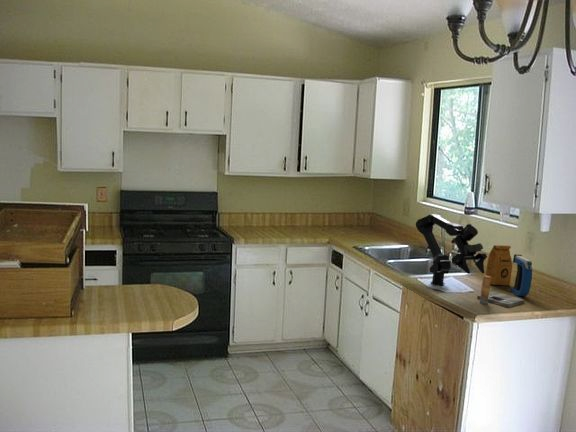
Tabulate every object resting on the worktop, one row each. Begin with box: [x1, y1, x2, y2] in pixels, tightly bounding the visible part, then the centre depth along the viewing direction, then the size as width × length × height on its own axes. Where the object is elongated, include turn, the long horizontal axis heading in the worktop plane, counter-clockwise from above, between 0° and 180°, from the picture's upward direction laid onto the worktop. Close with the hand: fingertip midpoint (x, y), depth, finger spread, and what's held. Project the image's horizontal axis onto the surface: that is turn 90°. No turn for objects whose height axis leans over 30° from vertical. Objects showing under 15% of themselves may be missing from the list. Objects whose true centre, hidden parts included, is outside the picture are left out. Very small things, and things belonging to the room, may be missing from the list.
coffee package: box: [485, 244, 513, 286], centre depth 322 cm, size 10×12×22 cm
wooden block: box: [479, 275, 491, 305], centre depth 282 cm, size 4×4×13 cm
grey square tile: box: [476, 291, 525, 308], centre depth 290 cm, size 16×16×2 cm
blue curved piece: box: [509, 253, 533, 297], centre depth 303 cm, size 5×16×20 cm, turn 2°
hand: (476, 273), depth 287 cm, fingers open, 9 cm apart
